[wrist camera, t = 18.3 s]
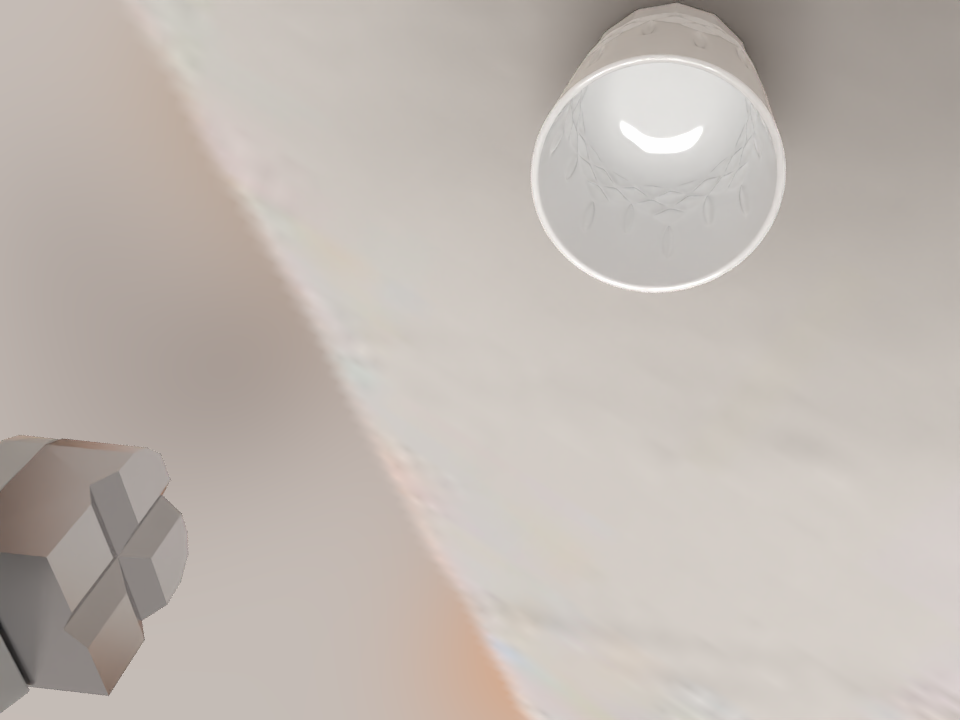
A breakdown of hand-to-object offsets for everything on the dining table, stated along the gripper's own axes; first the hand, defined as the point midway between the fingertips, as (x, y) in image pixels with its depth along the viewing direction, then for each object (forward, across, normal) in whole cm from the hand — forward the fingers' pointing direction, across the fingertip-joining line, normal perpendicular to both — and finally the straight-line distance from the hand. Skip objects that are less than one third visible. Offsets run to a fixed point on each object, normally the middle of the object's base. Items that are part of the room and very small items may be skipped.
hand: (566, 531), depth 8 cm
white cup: (+31, 0, +5) cm, 32 cm away
